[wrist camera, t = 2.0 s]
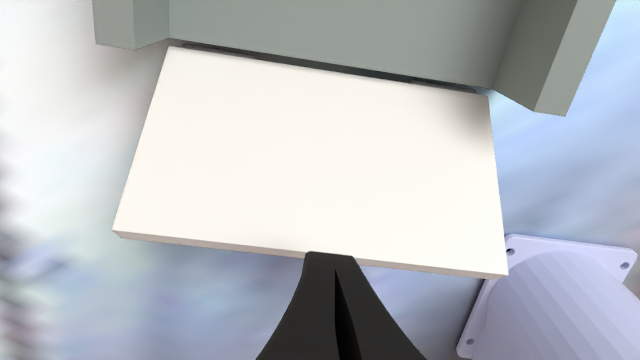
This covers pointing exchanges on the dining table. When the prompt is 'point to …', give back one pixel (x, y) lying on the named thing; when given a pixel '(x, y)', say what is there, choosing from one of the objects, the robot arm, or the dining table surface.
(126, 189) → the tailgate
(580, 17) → the cart bed
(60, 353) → the dining table surface
